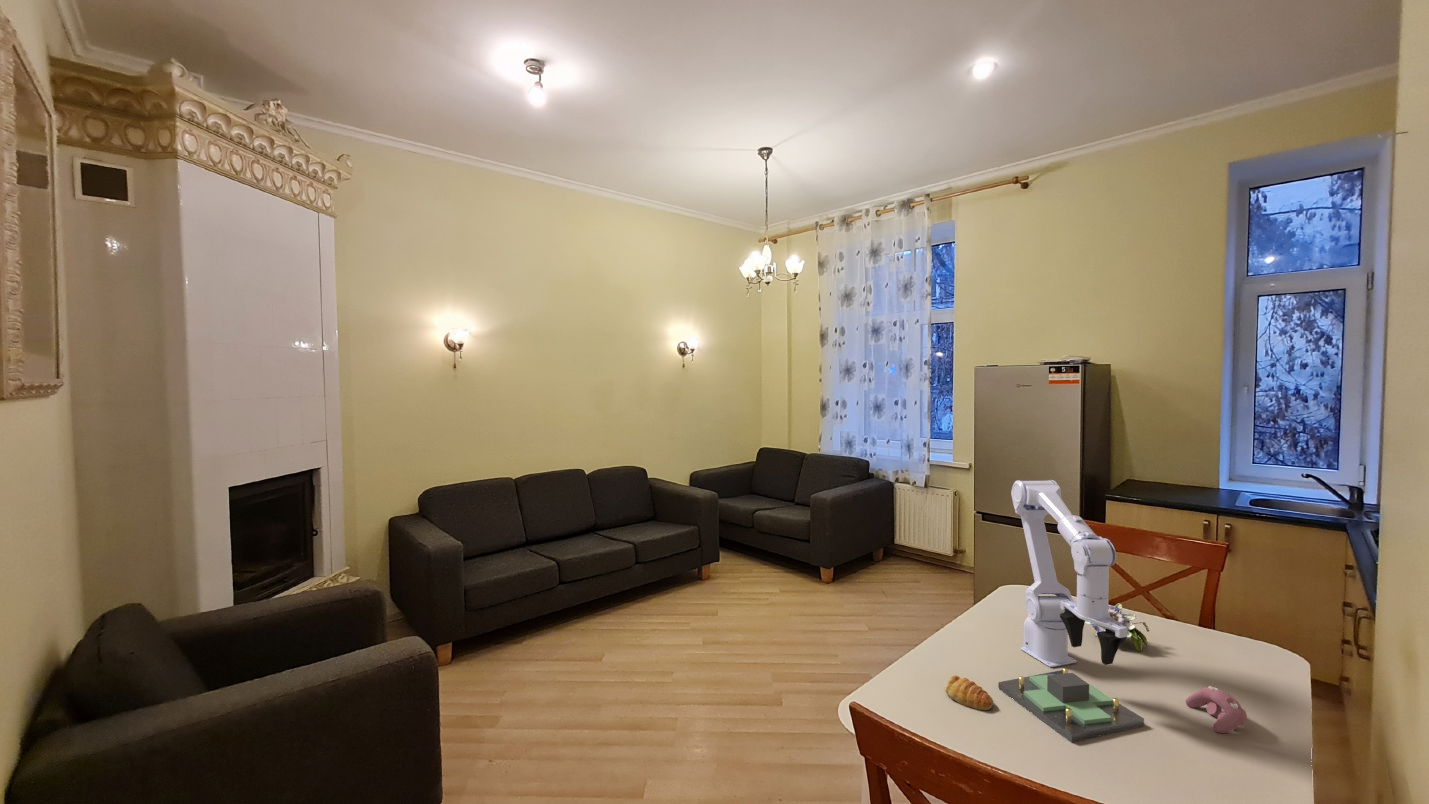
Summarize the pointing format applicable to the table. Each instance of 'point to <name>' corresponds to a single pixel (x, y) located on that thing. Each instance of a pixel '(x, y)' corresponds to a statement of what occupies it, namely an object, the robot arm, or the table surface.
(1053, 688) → the board
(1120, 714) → the chassis
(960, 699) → the pastry
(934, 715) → the table surface
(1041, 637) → the robot arm
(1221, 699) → the video game controller
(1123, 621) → the passion flower
